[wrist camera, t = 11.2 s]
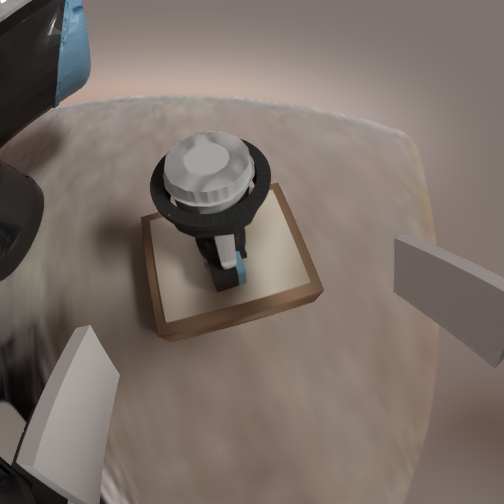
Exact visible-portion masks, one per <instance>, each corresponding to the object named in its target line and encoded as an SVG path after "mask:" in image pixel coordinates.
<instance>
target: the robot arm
mask: <svg viewBox="0 0 504 504" xmlns="http://www.w3.org/2000/svg"><path fill="white" fill-rule="evenodd" d="M90 68H91V61H90V49H89V41H88V33H87V26H86V20H85V15H84V14H83V1H82V0H0V148H1V147H3V146H4V145H5V144H6V143H7V142H8V141H9V140H11V139H12V138H13V137H14V136H15V135H17V134H18V133H19V132H20V131H22V130H23V129H24V128H25V127H27V126H28V125H29V124H30V123H32V122H33V121H34V120H36V119H37V118H39V117H40V116H41V115H43V114H44V113H46V112H47V111H49V110H50V109H51V108H56V107H57V106H58V105H59V103H60V102H61V101H63V100H64V99H66V98H67V97H68V96H70V95H72V94H73V93H75V92H76V91H78V90H79V89H81V88H82V87H83V86H84V85H85V83H86V82H87V80H88V78H89V75H90ZM43 209H44V196H43V192H42V190H41V188H40V187H39V186H38V185H37V183H36V182H35V181H34V180H33V179H32V178H31V177H30V176H28V175H26V174H21V173H20V172H19V171H17V170H16V169H15V168H13V167H11V166H10V165H8V164H6V163H4V162H3V161H1V160H0V281H1V280H3V279H4V278H6V277H7V276H8V275H9V274H11V273H12V272H13V271H14V269H15V268H16V267H17V266H18V265H19V263H20V262H21V261H22V259H23V258H24V256H25V255H26V253H27V251H28V250H29V248H30V246H31V244H32V242H33V240H34V238H35V236H36V233H37V231H38V228H39V225H40V222H41V219H42V214H43ZM394 293H396V294H397V295H399V296H400V297H402V298H403V299H404V300H406V301H407V302H409V303H410V304H411V305H413V306H414V307H416V308H417V309H418V310H420V311H421V312H423V313H424V314H425V315H427V316H428V317H429V318H431V319H432V320H433V321H435V322H436V323H437V324H439V325H440V326H442V327H443V328H444V329H446V330H447V331H448V332H449V333H451V334H452V335H454V336H455V337H456V338H458V339H459V340H460V341H461V342H463V343H464V344H465V345H467V346H468V347H469V348H470V349H472V350H473V351H474V352H475V353H477V354H478V355H479V356H480V357H482V358H483V359H484V360H485V361H487V362H488V363H489V364H490V365H491V366H493V367H494V368H496V367H497V366H498V364H499V363H500V362H501V361H502V360H503V359H504V278H503V277H501V276H499V275H497V274H495V273H493V272H491V271H489V270H487V269H485V268H483V267H481V266H478V265H477V264H474V263H472V262H470V261H468V260H466V259H464V258H462V257H459V256H457V255H455V254H453V253H450V252H448V251H446V250H444V249H441V248H439V247H437V246H434V245H432V244H430V243H427V242H425V241H423V240H420V239H418V238H415V237H413V236H410V235H408V234H404V235H401V236H398V237H395V238H394ZM119 377H120V374H119V373H118V371H117V370H116V368H115V367H114V365H113V363H112V362H111V360H110V359H109V357H108V355H107V354H106V352H105V350H104V349H103V347H102V345H101V343H100V342H99V340H98V338H97V336H96V334H95V333H94V331H93V329H92V327H91V325H87V326H82V327H78V328H76V329H75V331H74V332H73V334H72V336H71V338H70V339H69V341H68V343H67V345H66V347H65V348H64V350H63V352H62V354H61V356H60V358H59V360H58V362H57V364H56V366H55V368H54V370H53V372H52V374H51V376H50V378H49V380H48V382H47V384H46V386H45V388H44V390H43V393H42V395H41V397H40V399H39V401H38V403H37V404H36V405H35V406H34V408H33V409H32V411H31V413H30V415H29V418H28V420H27V422H28V423H26V426H25V428H24V432H23V433H22V436H21V438H20V441H19V444H18V447H17V450H16V453H15V456H14V459H13V462H12V465H11V466H10V465H9V464H8V463H7V462H6V461H5V460H3V459H2V458H1V457H0V504H67V503H68V500H69V501H71V502H73V503H75V504H99V502H100V489H101V479H102V470H103V462H104V455H105V448H106V441H107V435H108V429H109V424H110V418H111V413H112V408H113V403H114V399H115V394H116V390H117V385H118V381H119Z"/></svg>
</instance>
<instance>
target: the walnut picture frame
mask: <svg viewBox="0 0 504 504" xmlns="http://www.w3.org/2000/svg"><path fill="white" fill-rule="evenodd" d="M252 190H253V188H251V189H249V194H250V193H251V191H252ZM141 221H142V232H143V241H144V250H145V258H146V266H147V273H148V280H149V287H150V293H151V299H152V305H153V310H154V316H155V321H156V326H157V331H158V336H159V337H161V338H163V339H165V340H168V341H170V342H171V341H176V340H180V339H184V338H189V337H193V336H197V335H201V334H205V333H209V332H213V331H217V330H220V329H224V328H228V327H232V326H235V325H239V324H242V323H246V322H249V321H253V320H256V319H260V318H263V317H267V316H270V315H273V314H277V313H280V312H283V311H286V310H289V309H293V308H296V307H299V306H302V305H305V304H308V303H311V302H314V301H315V300H316V299H317V298H318V297H319V296H320V294H321V293H322V292H323V291H324V289H323V287H322V284H321V282H320V279H319V277H318V274H317V272H316V269H315V267H314V264H313V262H312V259H311V257H310V254H309V252H308V250H307V247H306V245H305V242H304V240H303V238H302V235H301V233H300V231H299V228H298V226H297V224H296V221H295V219H294V217H293V215H292V212H291V210H290V208H289V205H288V203H287V201H286V199H285V197H284V194H283V192H282V190H281V188H280V186H279V183H274V184H270V189H269V192H268V195H267V197H266V199H265V201H264V202H263V204H262V205H261V206H260V208H259V209H258V210H257V212H256V214H255V216H254V218H253V220H252V222H251V223H250V224H249V225H247V226H246V227H244V228H245V232H246V248H247V249H246V250H247V258H244V259H242V261H243V264H244V267H245V270H246V281H247V283H245V284H242V285H239V286H236V287H233V288H230V289H227V290H223V291H220V292H217V290H216V287H215V284H214V282H213V279H212V276H211V272H210V269H209V266H208V262H207V261H206V262H205V263H206V267H207V269H206V268H205V265H204V262H203V259H202V256H201V254H200V252H199V249H198V247H197V244H196V241H195V237H192V236H190V235H187V234H185V233H182V232H180V231H178V230H177V228H176V227H175V225H174V224H172V223H171V222H169V221H168V220H166V219H165V218H164V217H163V216H162V215H161V214H160V212H158V213H154V214H151V215H147V216H144V217H141Z"/></svg>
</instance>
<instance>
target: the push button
mask: <svg viewBox="0 0 504 504" xmlns="http://www.w3.org/2000/svg"><path fill="white" fill-rule="evenodd" d="M251 180H252V181H253V183H254V185H255V186H254V188H253V190H252V191H251V193H250V194H249V185H250V183H251ZM270 182H271V171H270V166H269V164H268V161H267V159H266V158H265V156H264V155H263V154H262V152H261V151H260V150H259V149H257V148H256V147H255V146H254V145H252V144H250V143H249V142H247V141H244V140H242V139H239V138H238V137H236V136H233V135H230V134H228V133H225V132H219V131H214V132H212V131H206V132H202V133H196V134H194V135H190V136H188V137H186V138H185V139H183V140H181V141H179V142H178V143H177V144H175V145H174V147H173V148H172V149H171V151H169V152H168V153H167V154H166V155H165V156H164V157H163V158H162V159H161V160H160V162H159V163H158V164H157V166H156V168H155V169H154V172H153V174H152V177H151V182H150V192H151V197H152V200H153V202H154V204H155V206H156V208H157V210H158V211H159V212H160V214H161V215H162V216H163V217H164V218H165V219H166V220H168V221H169V222H171V223H172V224H174V225H175V227H176V228H177V230H178V231H180V232H182V233H185V234H187V235H190V236H192V237H195V241H196V244H197V247H198V249H199V252H200V254H201V256H202V259H203V262H204V265H205V268H206V269H207V267H206V263H205V262H206V261H207V262H208V266H209V269H210V272H211V276H212V279H213V282H214V284H215V287H216V290H217V292H220V291H223V290H227V289H230V288H233V287H236V286H239V285H242V284H245V283H247V281H246V270H245V267H244V264H243V261H242V259H244V258H247V250H246V249H247V248H246V232H245V228H244V227H246V226H247V225H249V224H250V223H251V222H252V220H253V218H254V216H255V214H256V212H257V210H258V209H259V208H260V206H261V205H262V204H263V202H264V201H265V199H266V197H267V195H268V192H269V189H270ZM171 196H172V197H173V198H174V199H175V202H176V205H177V207H176V206H175V205H173V204H172V203H171V202H170V199H171Z"/></svg>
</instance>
